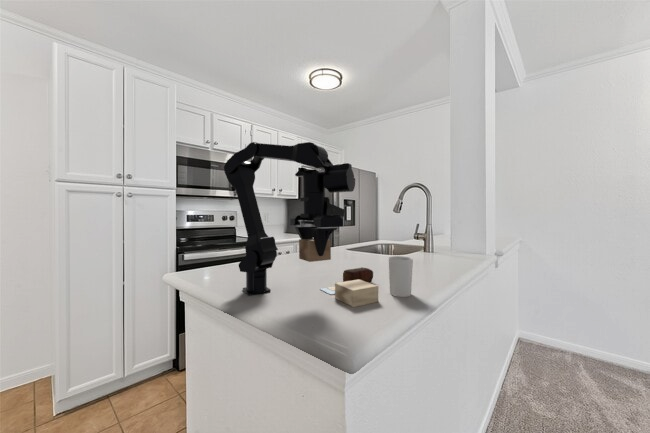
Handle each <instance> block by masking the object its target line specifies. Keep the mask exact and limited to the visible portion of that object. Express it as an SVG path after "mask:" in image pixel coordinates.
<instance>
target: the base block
mask: <svg viewBox="0 0 650 433" xmlns="http://www.w3.org/2000/svg"><path fill="white" fill-rule="evenodd" d="M334 286H335V294H334V298H335V299H336V300H338V301H340V302H342V303H344V304H346V305H348V306H350V307H352V308H356V307H360V306H364V305H369V304H373V303H377V302H379V285H377V284H373V283H372V282H370V283H368V282H365V281H362V280H359V279H358V280H352V281H345V282H343V281H340V282H335V283H334Z"/></svg>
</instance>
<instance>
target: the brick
mask: <svg viewBox="0 0 650 433" xmlns="http://www.w3.org/2000/svg"><path fill="white" fill-rule="evenodd" d="M373 278H374V271H373V270H372V269H370V268H368V267H356V268H349V269H345V270H343V272H342V282H345V281H352V280H358V279H359V280H362V281H365V282H368V283H372V281H373Z"/></svg>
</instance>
